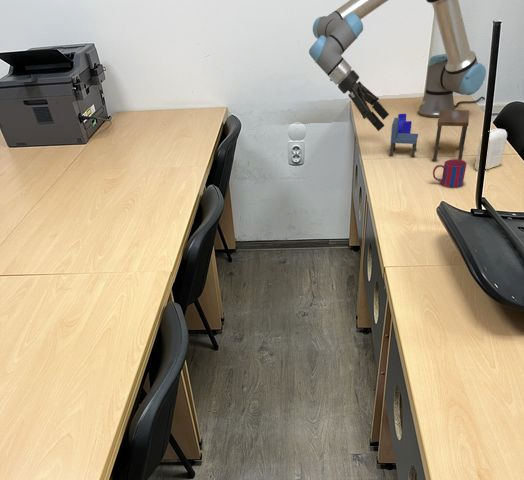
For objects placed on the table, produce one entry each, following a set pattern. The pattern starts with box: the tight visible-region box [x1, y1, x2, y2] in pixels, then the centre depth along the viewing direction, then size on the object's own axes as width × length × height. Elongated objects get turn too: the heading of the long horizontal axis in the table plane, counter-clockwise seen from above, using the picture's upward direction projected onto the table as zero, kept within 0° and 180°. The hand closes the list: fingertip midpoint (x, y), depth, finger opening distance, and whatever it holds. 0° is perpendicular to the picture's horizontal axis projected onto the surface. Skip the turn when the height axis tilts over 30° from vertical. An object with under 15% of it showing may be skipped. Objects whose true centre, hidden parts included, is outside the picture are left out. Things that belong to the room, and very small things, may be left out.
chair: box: [389, 117, 419, 158], centre depth 192 cm, size 9×8×12 cm
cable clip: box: [397, 113, 412, 134], centre depth 211 cm, size 12×4×6 cm, turn 179°
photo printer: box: [474, 128, 508, 171], centre depth 176 cm, size 10×4×12 cm, turn 123°
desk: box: [432, 109, 470, 162], centre depth 187 cm, size 10×15×14 cm, turn 163°
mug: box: [432, 158, 467, 188], centre depth 168 cm, size 7×10×7 cm
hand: (384, 122), depth 191 cm, fingers open, 13 cm apart
